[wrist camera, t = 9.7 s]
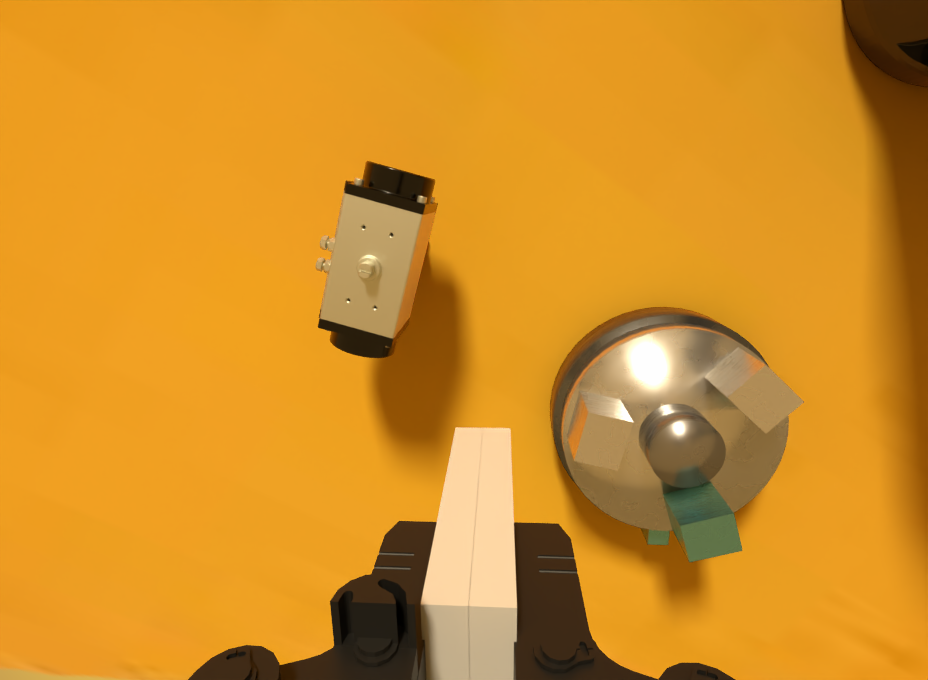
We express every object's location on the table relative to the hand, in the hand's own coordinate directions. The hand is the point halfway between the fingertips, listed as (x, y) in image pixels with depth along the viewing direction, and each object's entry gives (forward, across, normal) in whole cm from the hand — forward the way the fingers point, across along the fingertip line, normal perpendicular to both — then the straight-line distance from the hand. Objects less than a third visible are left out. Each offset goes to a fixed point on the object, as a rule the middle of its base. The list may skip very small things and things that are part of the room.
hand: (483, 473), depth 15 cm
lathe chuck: (+25, +13, -10) cm, 30 cm away
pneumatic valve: (+29, -8, +4) cm, 30 cm away
